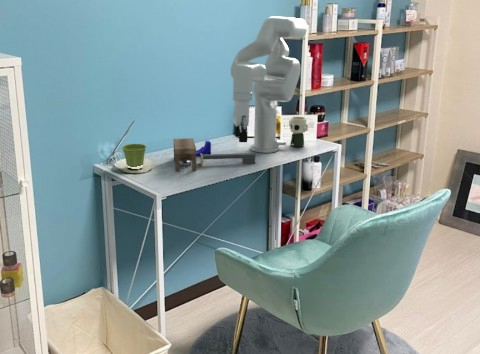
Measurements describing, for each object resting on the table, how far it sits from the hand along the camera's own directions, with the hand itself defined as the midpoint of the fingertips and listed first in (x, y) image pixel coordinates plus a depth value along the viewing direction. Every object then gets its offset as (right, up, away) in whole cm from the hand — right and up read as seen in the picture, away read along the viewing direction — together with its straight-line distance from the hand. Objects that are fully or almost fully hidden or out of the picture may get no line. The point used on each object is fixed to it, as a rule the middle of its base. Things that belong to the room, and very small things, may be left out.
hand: (241, 139), depth 218 cm
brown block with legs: (-23, -10, +1) cm, 25 cm away
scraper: (-5, -10, +3) cm, 12 cm away
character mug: (+26, -1, +31) cm, 40 cm away
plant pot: (-42, -12, -4) cm, 43 cm away
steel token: (-23, -10, +1) cm, 25 cm away
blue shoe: (-19, -6, +14) cm, 25 cm away
